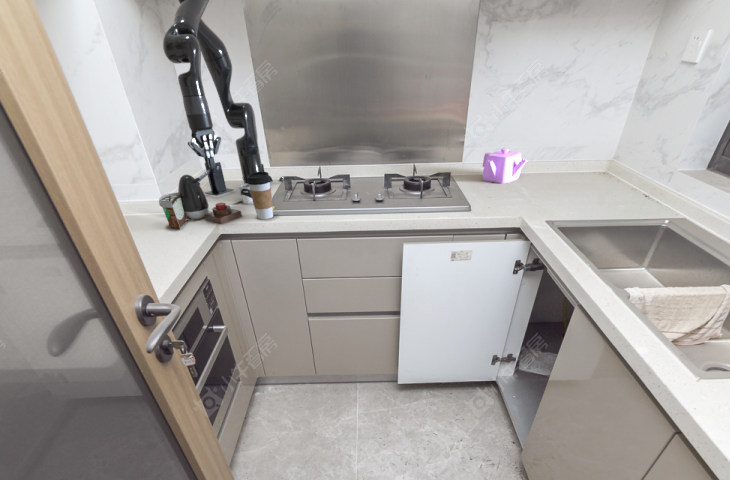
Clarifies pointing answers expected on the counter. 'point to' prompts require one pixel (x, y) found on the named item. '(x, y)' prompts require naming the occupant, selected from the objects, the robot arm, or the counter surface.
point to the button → (220, 206)
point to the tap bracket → (217, 181)
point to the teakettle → (502, 166)
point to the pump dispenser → (192, 197)
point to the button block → (222, 215)
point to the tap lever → (204, 175)
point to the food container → (173, 210)
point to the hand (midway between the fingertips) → (211, 169)
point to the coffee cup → (261, 194)
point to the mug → (246, 194)
